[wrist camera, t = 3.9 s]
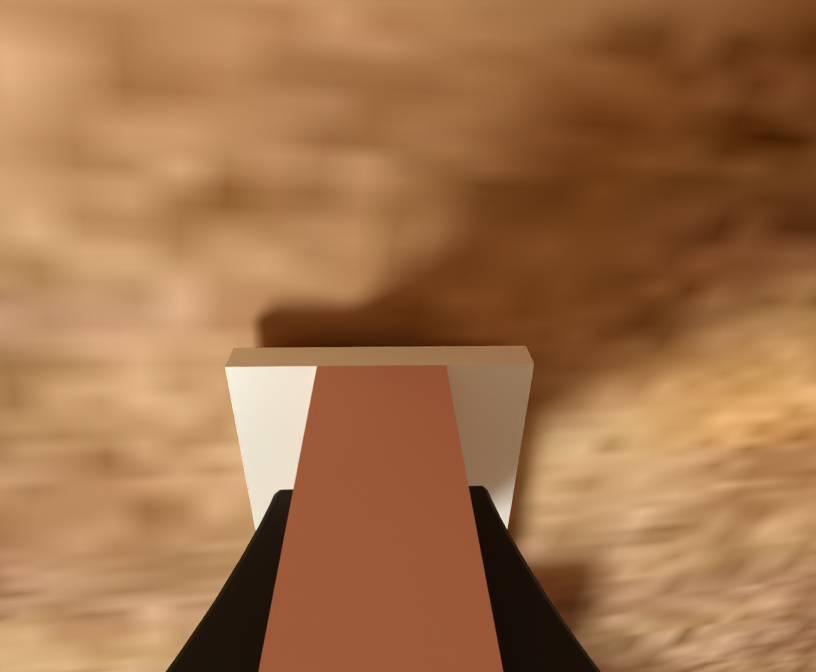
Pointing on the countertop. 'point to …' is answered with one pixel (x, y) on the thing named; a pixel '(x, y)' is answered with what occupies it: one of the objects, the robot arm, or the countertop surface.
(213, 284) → the countertop surface
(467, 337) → the countertop surface
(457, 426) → the pink and white block
